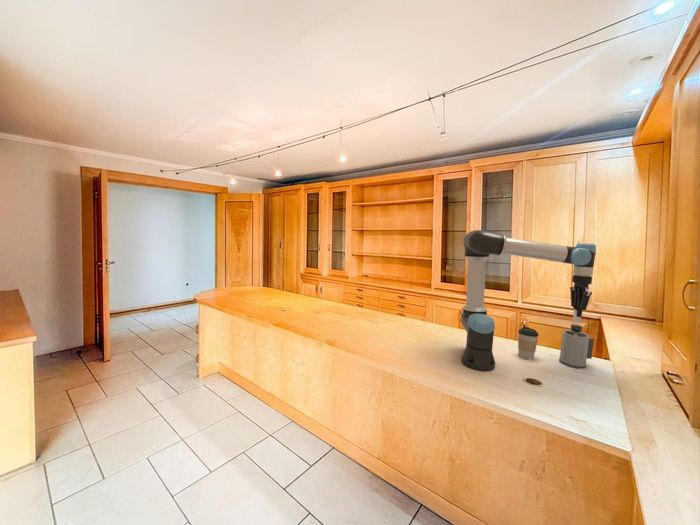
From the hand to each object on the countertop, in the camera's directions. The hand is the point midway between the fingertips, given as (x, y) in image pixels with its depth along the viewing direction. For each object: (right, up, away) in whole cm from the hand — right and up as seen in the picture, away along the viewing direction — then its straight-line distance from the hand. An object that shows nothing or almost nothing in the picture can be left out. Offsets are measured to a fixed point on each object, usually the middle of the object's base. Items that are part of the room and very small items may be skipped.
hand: (576, 322), depth 146 cm
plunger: (0, -17, +2) cm, 17 cm away
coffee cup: (-20, -20, +9) cm, 29 cm away
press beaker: (+1, -21, +2) cm, 21 cm away
